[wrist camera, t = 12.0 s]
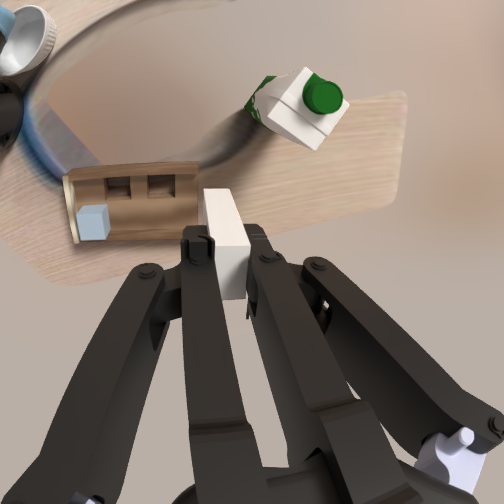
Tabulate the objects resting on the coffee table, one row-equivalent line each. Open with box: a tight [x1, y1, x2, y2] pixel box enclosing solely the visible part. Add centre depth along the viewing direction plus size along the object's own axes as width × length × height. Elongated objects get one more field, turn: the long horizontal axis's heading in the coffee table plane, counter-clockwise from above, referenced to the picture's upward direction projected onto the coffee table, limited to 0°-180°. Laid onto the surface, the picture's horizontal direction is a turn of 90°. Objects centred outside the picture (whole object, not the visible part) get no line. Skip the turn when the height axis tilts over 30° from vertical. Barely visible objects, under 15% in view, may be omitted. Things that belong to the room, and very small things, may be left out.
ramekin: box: [0, 5, 57, 76], centre depth 25 cm, size 13×13×7 cm
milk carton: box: [244, 67, 349, 151], centre depth 37 cm, size 9×9×20 cm
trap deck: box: [63, 162, 199, 244], centre depth 47 cm, size 13×24×5 cm, turn 85°
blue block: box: [76, 204, 111, 240], centre depth 45 cm, size 5×5×4 cm
